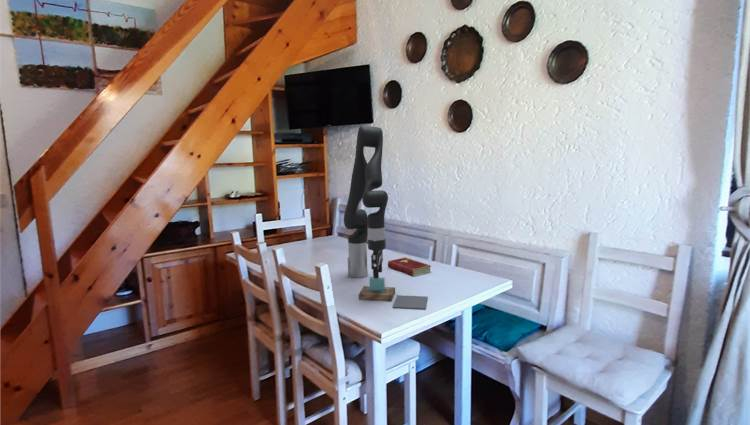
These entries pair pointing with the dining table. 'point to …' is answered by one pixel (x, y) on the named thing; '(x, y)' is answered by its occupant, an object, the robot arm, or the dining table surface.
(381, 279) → the teal rectangular prism
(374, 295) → the brown wooden frame
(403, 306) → the mat
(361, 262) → the robot arm
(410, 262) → the hardcover book
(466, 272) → the dining table surface
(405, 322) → the dining table surface
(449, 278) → the dining table surface
